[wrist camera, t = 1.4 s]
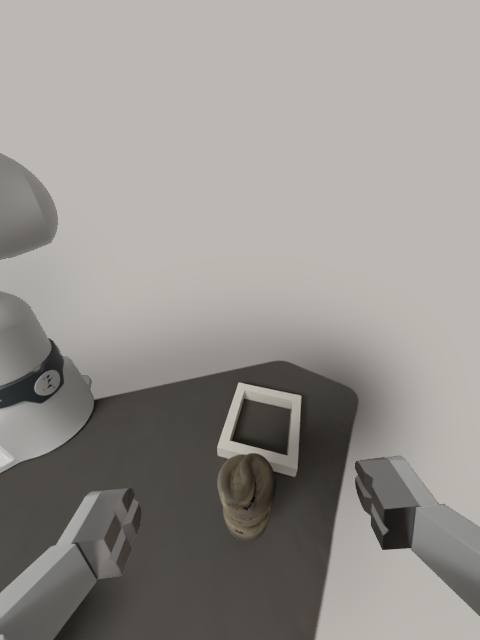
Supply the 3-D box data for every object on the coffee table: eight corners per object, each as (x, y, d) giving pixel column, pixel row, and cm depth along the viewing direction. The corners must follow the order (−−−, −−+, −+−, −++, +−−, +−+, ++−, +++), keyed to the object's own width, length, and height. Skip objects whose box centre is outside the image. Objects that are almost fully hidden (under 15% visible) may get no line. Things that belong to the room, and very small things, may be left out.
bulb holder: (217, 455, 38) (217, 447, 36) (238, 390, 48) (238, 382, 47) (294, 477, 35) (297, 469, 34) (299, 404, 46) (301, 395, 44)
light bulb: (226, 564, 28) (223, 518, 19) (217, 508, 32) (212, 451, 24) (272, 547, 29) (288, 497, 20) (257, 496, 33) (265, 437, 25)
